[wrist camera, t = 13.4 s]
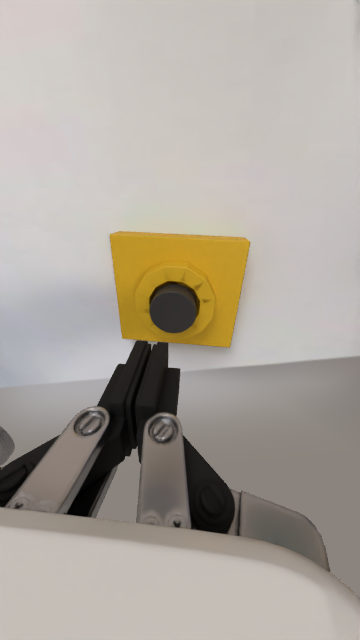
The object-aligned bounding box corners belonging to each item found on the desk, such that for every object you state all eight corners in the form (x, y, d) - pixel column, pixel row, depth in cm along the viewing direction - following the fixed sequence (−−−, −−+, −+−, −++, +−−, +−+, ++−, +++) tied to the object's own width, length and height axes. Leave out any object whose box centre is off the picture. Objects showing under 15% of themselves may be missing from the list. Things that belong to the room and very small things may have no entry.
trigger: (195, 324, 18) (194, 335, 16) (154, 321, 18) (149, 331, 17) (198, 285, 16) (197, 293, 15) (152, 282, 16) (148, 289, 15)
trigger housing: (227, 335, 22) (232, 359, 19) (128, 327, 23) (115, 349, 20) (245, 237, 18) (256, 245, 14) (118, 231, 18) (99, 237, 15)
